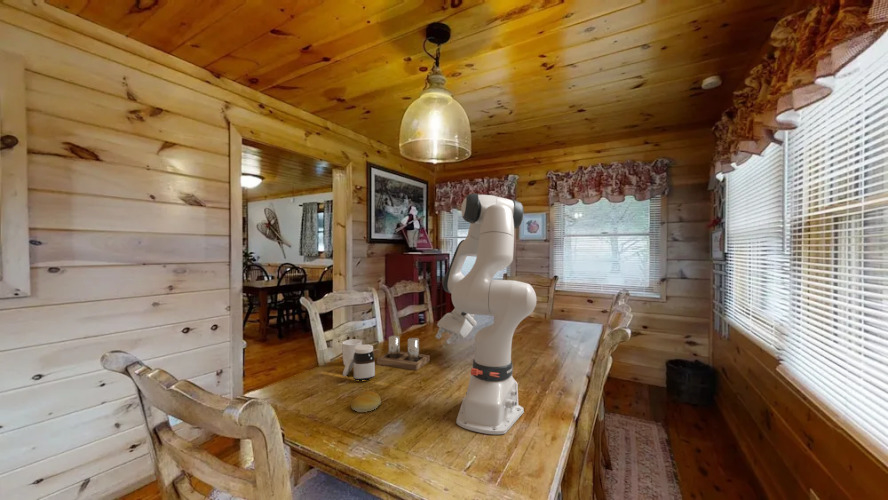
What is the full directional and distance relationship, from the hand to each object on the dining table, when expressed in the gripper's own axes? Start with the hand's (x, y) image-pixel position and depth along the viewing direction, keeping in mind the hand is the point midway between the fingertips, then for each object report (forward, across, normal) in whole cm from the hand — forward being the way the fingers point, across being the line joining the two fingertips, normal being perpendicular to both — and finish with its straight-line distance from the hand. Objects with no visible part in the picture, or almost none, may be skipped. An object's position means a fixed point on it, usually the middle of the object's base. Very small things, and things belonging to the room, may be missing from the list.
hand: (442, 340), depth 142 cm
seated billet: (+19, -8, -7) cm, 22 cm away
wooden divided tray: (+18, -5, -4) cm, 19 cm away
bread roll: (+34, +23, -20) cm, 46 cm away
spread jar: (+32, 0, -18) cm, 36 cm away
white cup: (+31, -14, -17) cm, 38 cm away
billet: (+15, -1, -3) cm, 15 cm away
